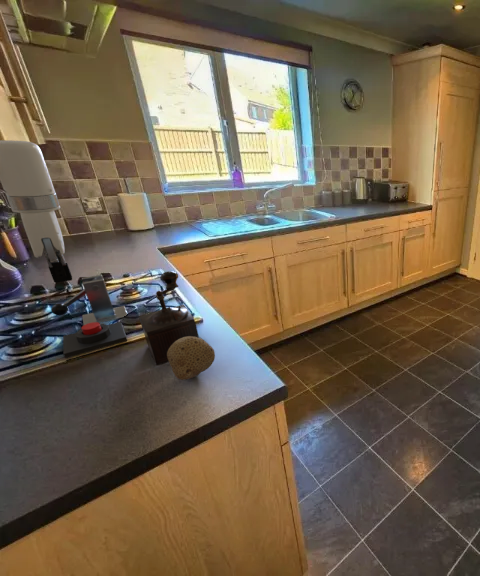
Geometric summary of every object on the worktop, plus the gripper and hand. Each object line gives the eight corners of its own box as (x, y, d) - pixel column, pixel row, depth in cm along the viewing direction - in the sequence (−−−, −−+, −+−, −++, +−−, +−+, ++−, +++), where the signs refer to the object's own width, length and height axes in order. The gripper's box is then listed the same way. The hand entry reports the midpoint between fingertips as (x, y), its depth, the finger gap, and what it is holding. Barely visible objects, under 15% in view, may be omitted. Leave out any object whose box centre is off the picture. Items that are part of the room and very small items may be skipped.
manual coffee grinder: (205, 349, 85) (192, 286, 78) (155, 366, 78) (135, 298, 71) (188, 325, 95) (175, 267, 88) (143, 338, 88) (124, 276, 81)
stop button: (84, 337, 81) (81, 331, 81) (83, 330, 84) (81, 325, 83) (102, 332, 84) (100, 326, 83) (101, 326, 86) (99, 320, 85)
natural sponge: (217, 359, 81) (210, 325, 77) (218, 381, 74) (211, 344, 70) (174, 368, 78) (165, 332, 73) (172, 392, 70) (161, 354, 66)
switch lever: (59, 319, 88) (47, 312, 86) (59, 314, 90) (47, 307, 88) (105, 287, 92) (94, 279, 90) (104, 283, 95) (93, 275, 92)
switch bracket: (85, 330, 91) (68, 288, 85) (83, 318, 96) (68, 278, 91) (129, 319, 97) (116, 279, 92) (125, 308, 102) (113, 270, 97)
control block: (66, 361, 78) (60, 347, 77) (66, 343, 85) (60, 329, 83) (128, 344, 86) (124, 330, 84) (123, 328, 92) (119, 315, 91)
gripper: (13, 198, 74) (42, 274, 81) (5, 210, 64) (40, 295, 71) (58, 196, 78) (82, 268, 86) (58, 207, 68) (86, 287, 76)
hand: (63, 280), depth 78 cm, fingers closed
